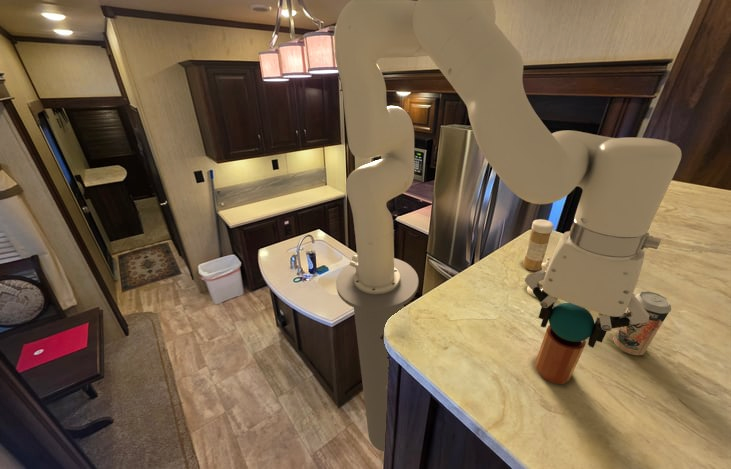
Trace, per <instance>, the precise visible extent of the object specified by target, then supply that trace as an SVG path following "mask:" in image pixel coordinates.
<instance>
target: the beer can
mask: <svg viewBox="0 0 731 469" xmlns="http://www.w3.org/2000/svg"><path fill="white" fill-rule="evenodd" d="M634 295H635V294H634ZM635 297H636V298H637V299H638V301H639V302H640V303H641V304H642V306H643V307H644V308H645V310H646V311H647V312H648V314H649V321H648V322H647V323H640V324H629V326H625V327H618V328H617V330H616V332H615V334H614V336H612V341H613V343H614V345H615V346H616V348H618V349H619V350H621V351H622V352H625V353H627V354H630V355H633V356H642V355H644V354H645V353H646V350H647V349H648V347H649V346H650V344H651V343H652V341H653V339H654V337H655V336H656V335H657V333H658V331H659V330H660V328H661V326H662V325H663V323H664V321H665V320H666V318H667V316H668V315H669V313H671V311H672V305H671V302H670V300H669V299H668V298H667V297H665V296H663V295H661V294H659V293H657V292H652V291H650V290H649V291H647V290H646V291H641V292H639V293H637V294H636V295H635ZM628 312H631V311H630V310H629V309H628V308H627V310H626V313H628Z"/></svg>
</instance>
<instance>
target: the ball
mask: <svg viewBox="0 0 731 469" xmlns="http://www.w3.org/2000/svg"><path fill="white" fill-rule="evenodd" d="M595 322H596V321H595V319H594V317H593V315H592V314H591V312H590V310H589V309H586V308H583V307H580V306H577V305H574V304H572V303H569V302H562V303H561V302H560V303H559V304H556V305H554V306H553V309H552V311H551V313H550V316H549V320H548V323H549V325H550V326H551V328H552V330H553V331H554V332H555V333H556V334H557V335H558V336H559V337H561V338H563V339H565V340H568V341H572V342H579V341H583V340H586V341H587V339H588V340H589V337H590V336H591V335H592V333H593V331H594V327H595Z"/></svg>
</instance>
